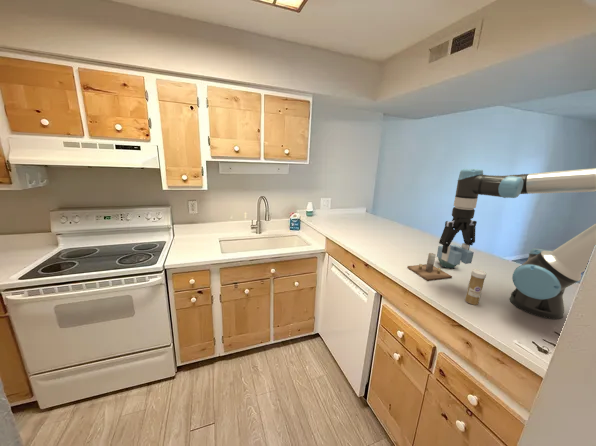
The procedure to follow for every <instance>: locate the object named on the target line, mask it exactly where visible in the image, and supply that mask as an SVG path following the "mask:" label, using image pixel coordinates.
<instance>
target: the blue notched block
mask: <svg viewBox="0 0 596 446" xmlns="http://www.w3.org/2000/svg"><path fill="white" fill-rule="evenodd" d="M449 246H450V247H451V248H450V253H449V258H448V261H447V262H448V263H450V264H452V265H457V266H458V265H459V266H460V264H461V263H463V264H464V265H466V264H468V265H469V264H472V261H473V256H474V251H471V250H470V249H469V250H467V249H465V248H462V246H459V245H457V244H450V245H449ZM442 248H443V245H439V246H438V247H437V253H436V257H437V258H440V259H441V258H442Z"/></svg>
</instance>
